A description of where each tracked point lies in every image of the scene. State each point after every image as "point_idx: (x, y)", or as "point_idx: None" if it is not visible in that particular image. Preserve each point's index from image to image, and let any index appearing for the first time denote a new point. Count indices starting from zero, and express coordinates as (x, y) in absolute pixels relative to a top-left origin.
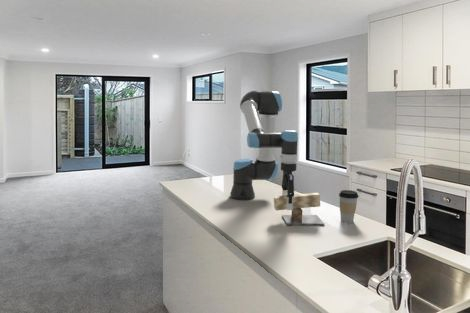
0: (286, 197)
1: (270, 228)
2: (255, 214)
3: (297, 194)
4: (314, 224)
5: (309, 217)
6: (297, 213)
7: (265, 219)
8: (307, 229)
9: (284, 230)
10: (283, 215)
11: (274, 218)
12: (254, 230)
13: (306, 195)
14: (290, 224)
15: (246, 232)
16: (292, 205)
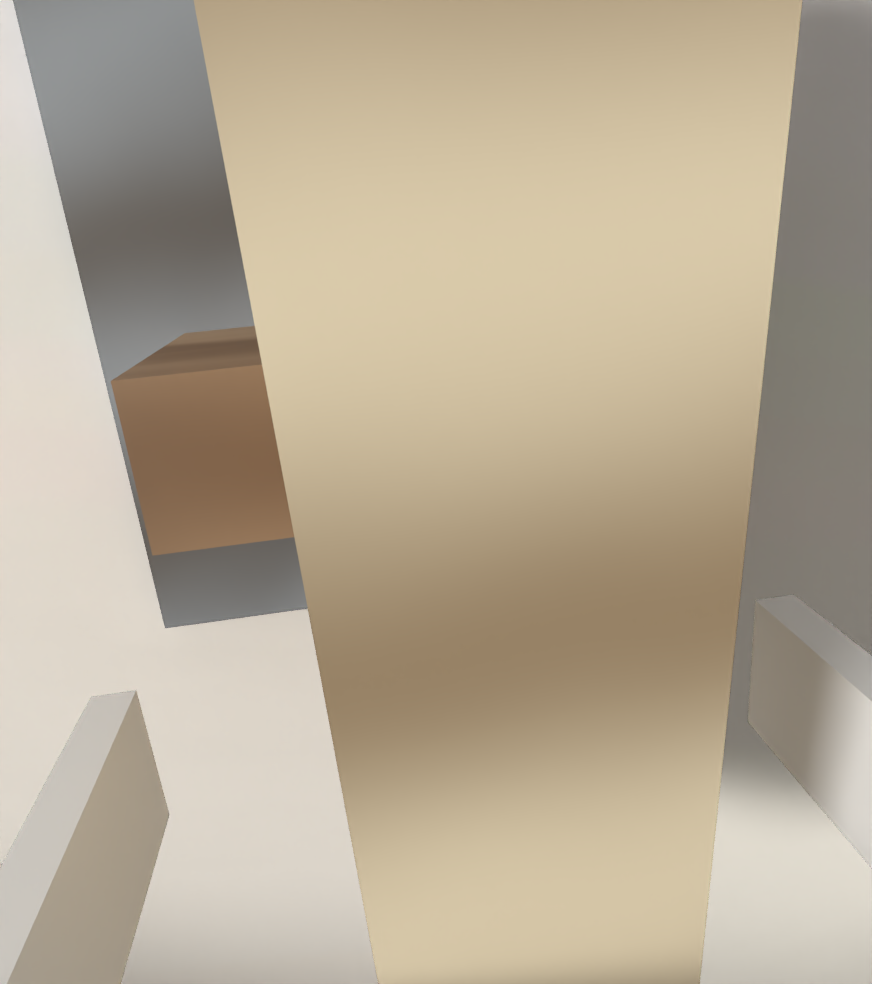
0: (699, 975)
1: (757, 762)
2: (127, 978)
3: (352, 605)
4: None
5: None
6: None
7: None
8: (851, 220)
9: (853, 590)
10: (195, 604)
11: (291, 724)
12: (812, 919)
13: (743, 97)
14: None
15: (865, 981)
16: (870, 660)
